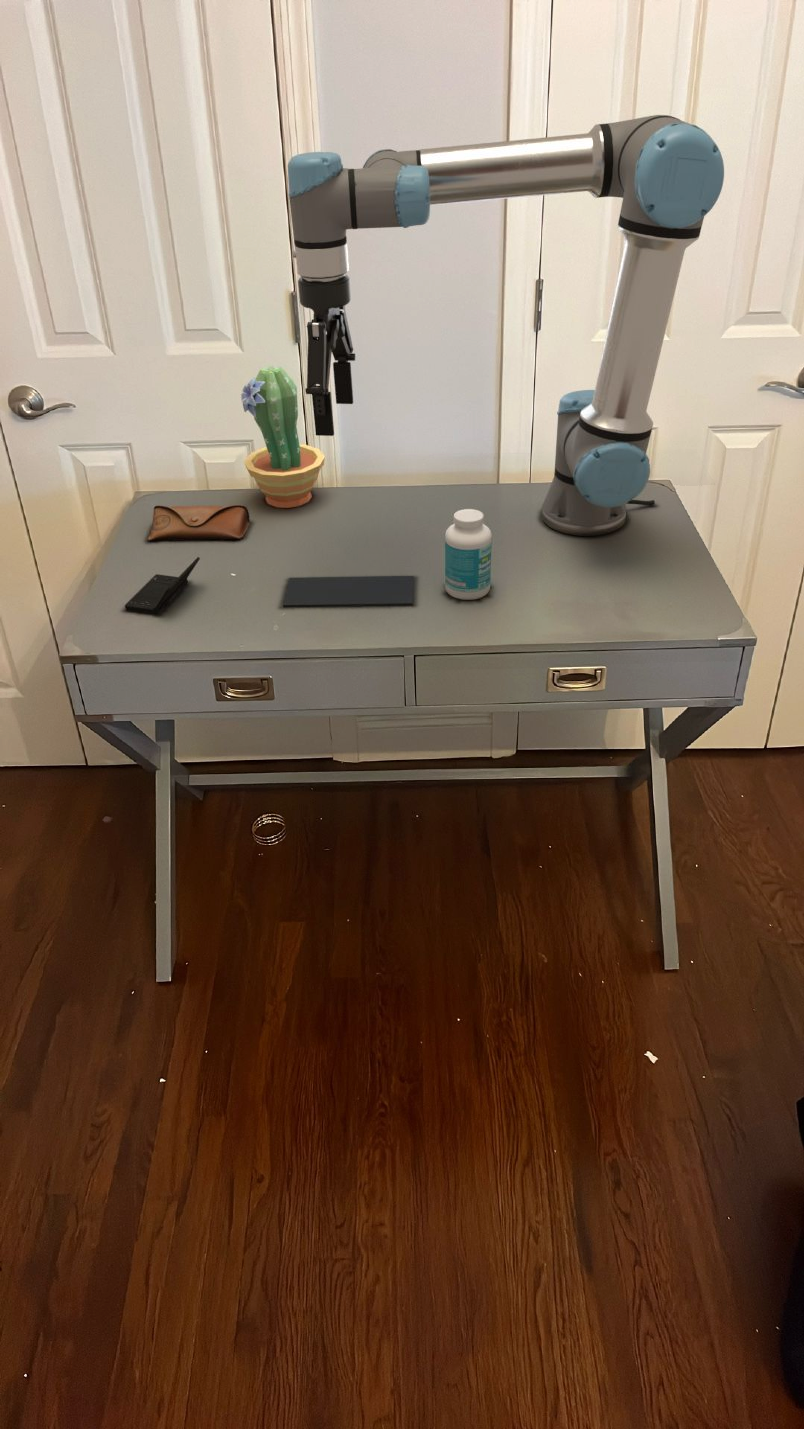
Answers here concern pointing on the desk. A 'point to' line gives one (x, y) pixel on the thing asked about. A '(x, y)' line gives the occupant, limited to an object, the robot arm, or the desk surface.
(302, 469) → the potted cactus
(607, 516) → the robot arm
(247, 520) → the sunglasses case
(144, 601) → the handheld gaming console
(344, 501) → the desk surface
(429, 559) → the desk surface
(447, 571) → the pill bottle
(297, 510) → the desk surface
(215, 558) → the desk surface
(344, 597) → the desk mat
